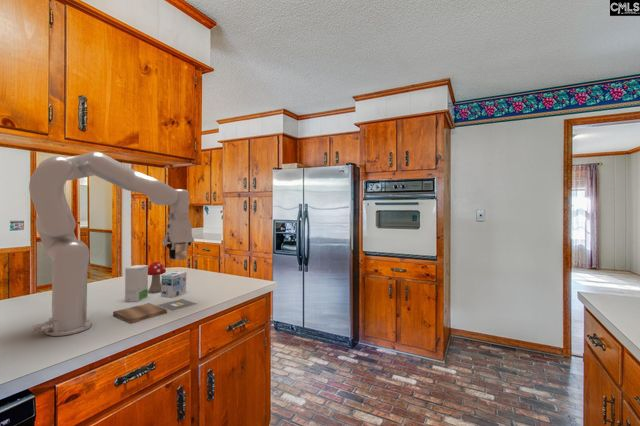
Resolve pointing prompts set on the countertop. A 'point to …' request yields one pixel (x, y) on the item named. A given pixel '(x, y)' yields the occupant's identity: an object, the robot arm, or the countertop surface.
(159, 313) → the walnut board
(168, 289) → the light bulb box
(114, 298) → the countertop surface
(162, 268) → the decorative mushroom
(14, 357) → the countertop surface
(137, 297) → the skincare box
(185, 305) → the mat
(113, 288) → the countertop surface
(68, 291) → the robot arm
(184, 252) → the birch block
